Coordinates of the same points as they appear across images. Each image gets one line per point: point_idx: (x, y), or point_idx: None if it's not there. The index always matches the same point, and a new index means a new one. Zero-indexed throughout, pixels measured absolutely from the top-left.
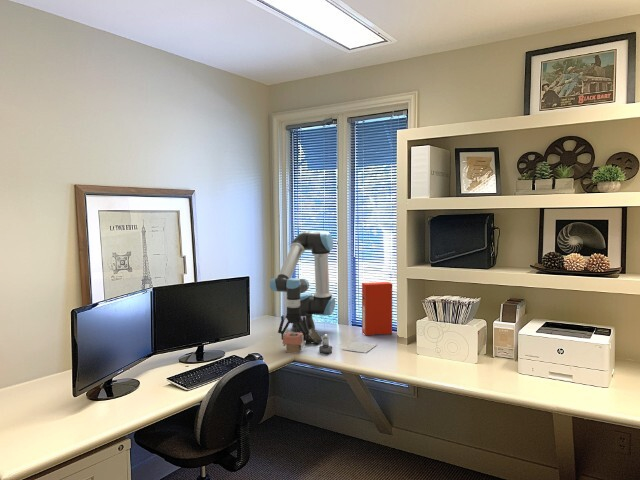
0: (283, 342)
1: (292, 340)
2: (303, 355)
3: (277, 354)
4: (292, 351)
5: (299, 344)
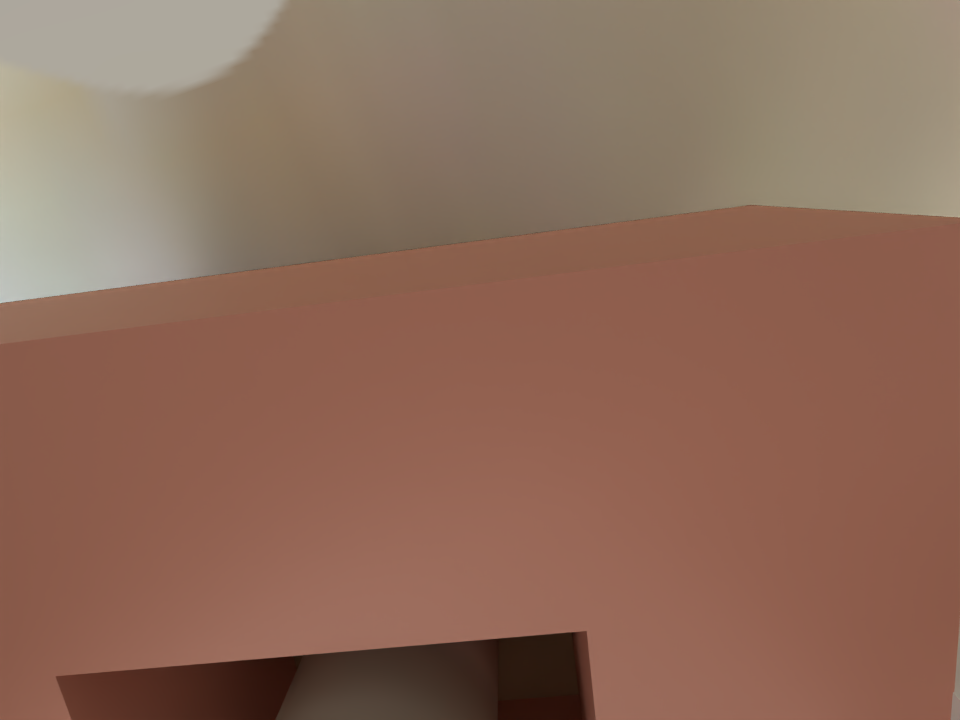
0: (741, 210)
1: (256, 287)
2: (63, 172)
3: (765, 28)
4: None
5: (29, 300)
